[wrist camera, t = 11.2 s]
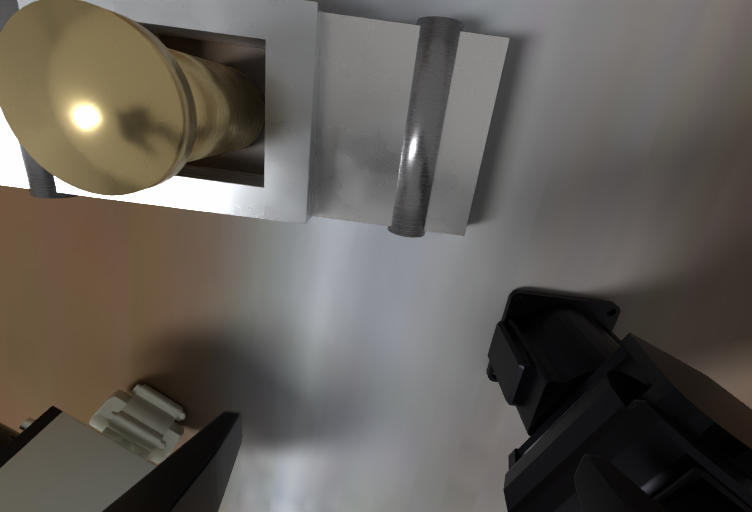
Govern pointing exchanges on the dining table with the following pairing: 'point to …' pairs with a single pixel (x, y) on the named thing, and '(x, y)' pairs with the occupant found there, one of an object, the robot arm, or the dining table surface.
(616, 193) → the dining table surface
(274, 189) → the silver plate
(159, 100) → the brass knob
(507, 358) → the robot arm
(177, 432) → the pneumatic valve
